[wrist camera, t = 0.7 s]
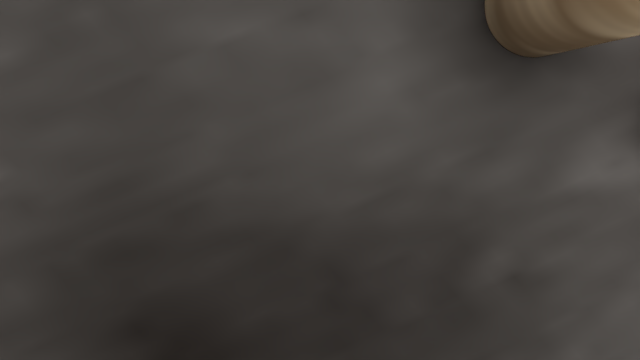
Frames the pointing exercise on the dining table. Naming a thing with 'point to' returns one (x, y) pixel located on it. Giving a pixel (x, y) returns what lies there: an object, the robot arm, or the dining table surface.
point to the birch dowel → (560, 24)
